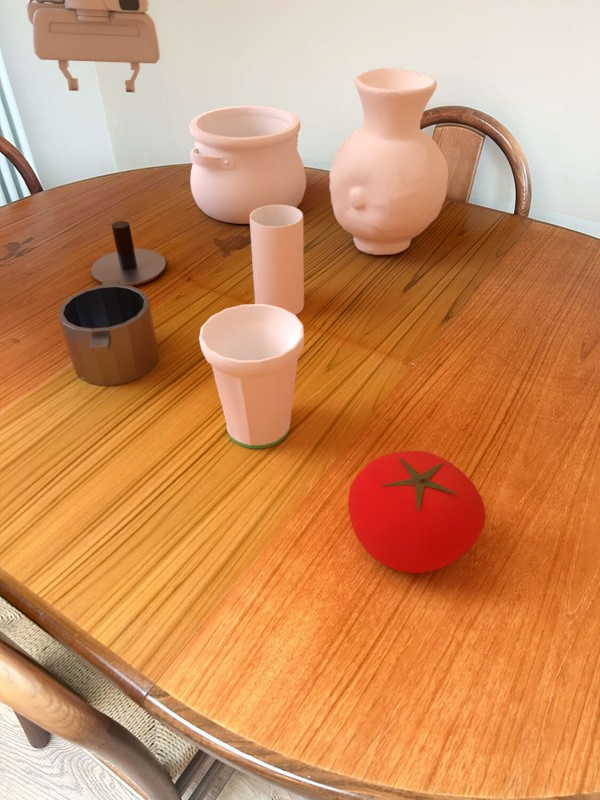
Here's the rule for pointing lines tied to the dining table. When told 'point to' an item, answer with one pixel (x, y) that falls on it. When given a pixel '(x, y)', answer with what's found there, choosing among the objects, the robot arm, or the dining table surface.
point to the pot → (245, 161)
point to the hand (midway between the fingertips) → (102, 91)
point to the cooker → (109, 333)
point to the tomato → (415, 511)
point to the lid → (128, 260)
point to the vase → (389, 164)
